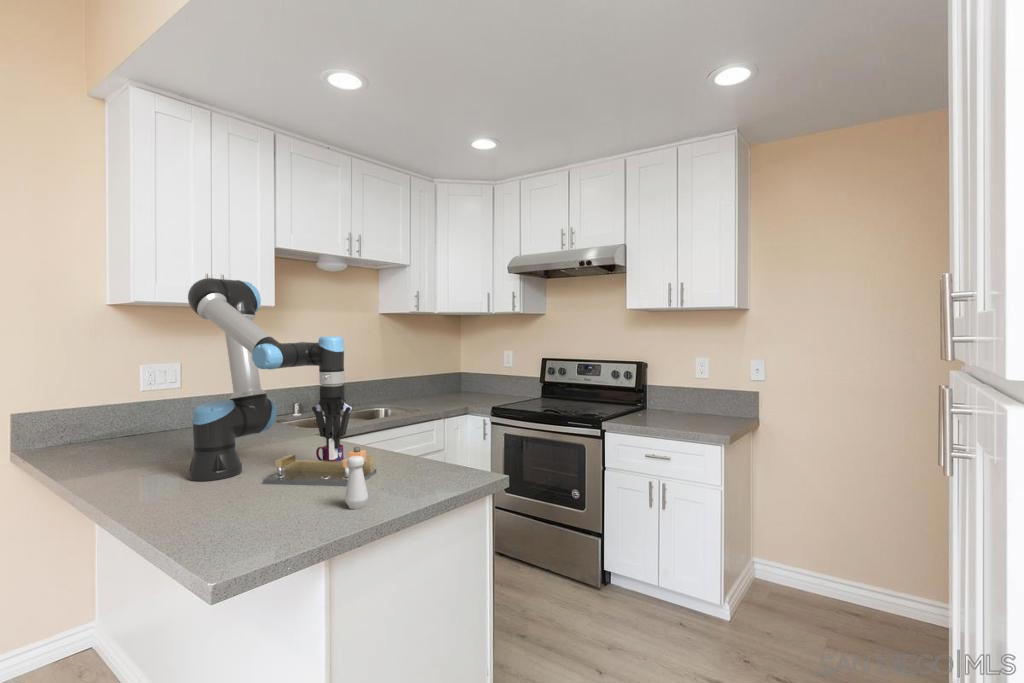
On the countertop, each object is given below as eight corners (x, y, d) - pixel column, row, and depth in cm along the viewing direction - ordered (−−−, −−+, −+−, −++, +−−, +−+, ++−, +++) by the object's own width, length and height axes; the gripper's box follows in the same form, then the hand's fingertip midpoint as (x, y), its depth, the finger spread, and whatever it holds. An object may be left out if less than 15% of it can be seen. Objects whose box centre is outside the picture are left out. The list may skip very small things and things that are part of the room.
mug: (333, 469, 169) (332, 449, 169) (311, 466, 173) (310, 446, 173) (348, 464, 175) (347, 445, 175) (326, 462, 179) (325, 442, 179)
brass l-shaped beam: (272, 476, 158) (272, 460, 158) (289, 468, 167) (289, 453, 166) (362, 478, 154) (361, 462, 154) (374, 470, 163) (373, 454, 162)
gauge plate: (263, 483, 155) (263, 479, 154) (289, 470, 168) (289, 466, 168) (357, 486, 150) (357, 481, 150) (376, 472, 164) (376, 468, 164)
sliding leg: (340, 476, 155) (339, 453, 154) (354, 468, 164) (353, 446, 164) (352, 477, 154) (352, 453, 154) (366, 468, 164) (365, 446, 163)
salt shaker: (360, 501, 137) (358, 452, 137) (372, 505, 133) (371, 456, 133) (340, 507, 133) (339, 457, 132) (353, 512, 129) (352, 460, 129)
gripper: (306, 386, 160) (308, 461, 160) (346, 386, 158) (347, 462, 158) (318, 383, 167) (320, 455, 168) (356, 383, 165) (357, 456, 166)
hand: (333, 458), depth 163 cm, fingers closed
